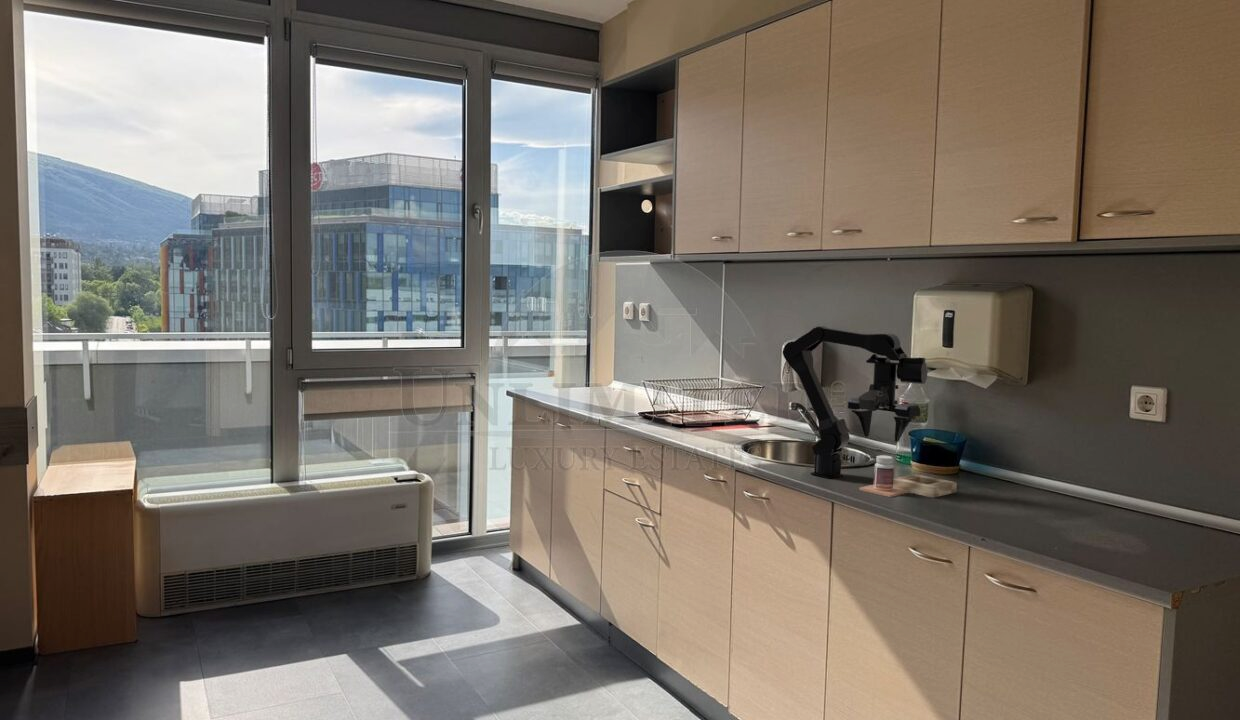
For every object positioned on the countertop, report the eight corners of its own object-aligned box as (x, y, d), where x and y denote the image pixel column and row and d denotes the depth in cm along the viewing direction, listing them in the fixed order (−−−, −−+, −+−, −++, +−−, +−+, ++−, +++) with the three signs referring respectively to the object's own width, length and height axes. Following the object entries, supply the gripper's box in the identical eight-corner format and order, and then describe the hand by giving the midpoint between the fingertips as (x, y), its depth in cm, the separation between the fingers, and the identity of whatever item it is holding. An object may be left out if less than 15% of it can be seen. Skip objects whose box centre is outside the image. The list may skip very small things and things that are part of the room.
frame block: (891, 488, 220) (891, 478, 220) (914, 483, 227) (914, 473, 227) (933, 497, 211) (933, 487, 211) (956, 492, 218) (956, 482, 218)
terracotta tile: (859, 489, 217) (859, 487, 217) (877, 486, 222) (877, 483, 222) (890, 497, 210) (890, 494, 210) (907, 492, 215) (907, 490, 215)
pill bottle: (896, 490, 215) (898, 458, 214) (881, 491, 213) (883, 459, 213) (884, 486, 219) (886, 454, 219) (869, 487, 218) (871, 455, 217)
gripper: (836, 378, 225) (833, 436, 226) (898, 386, 211) (895, 447, 212) (861, 377, 232) (858, 433, 233) (922, 384, 218) (919, 443, 219)
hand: (881, 439), depth 224 cm, fingers open, 9 cm apart
